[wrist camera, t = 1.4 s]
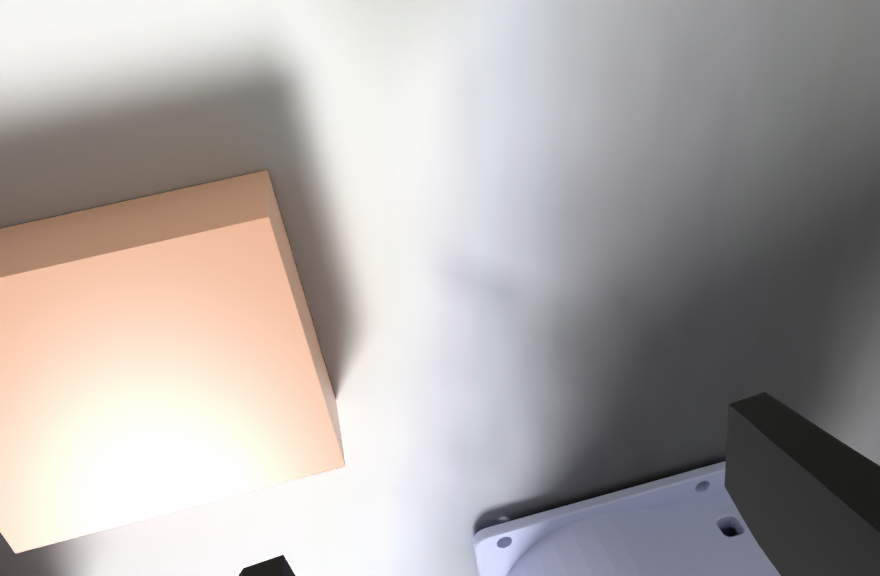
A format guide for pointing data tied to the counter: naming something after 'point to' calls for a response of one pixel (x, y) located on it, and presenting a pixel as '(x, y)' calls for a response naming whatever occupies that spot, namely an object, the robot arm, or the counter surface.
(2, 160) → the counter surface
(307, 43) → the counter surface
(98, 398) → the peach rectangular block
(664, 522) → the robot arm
